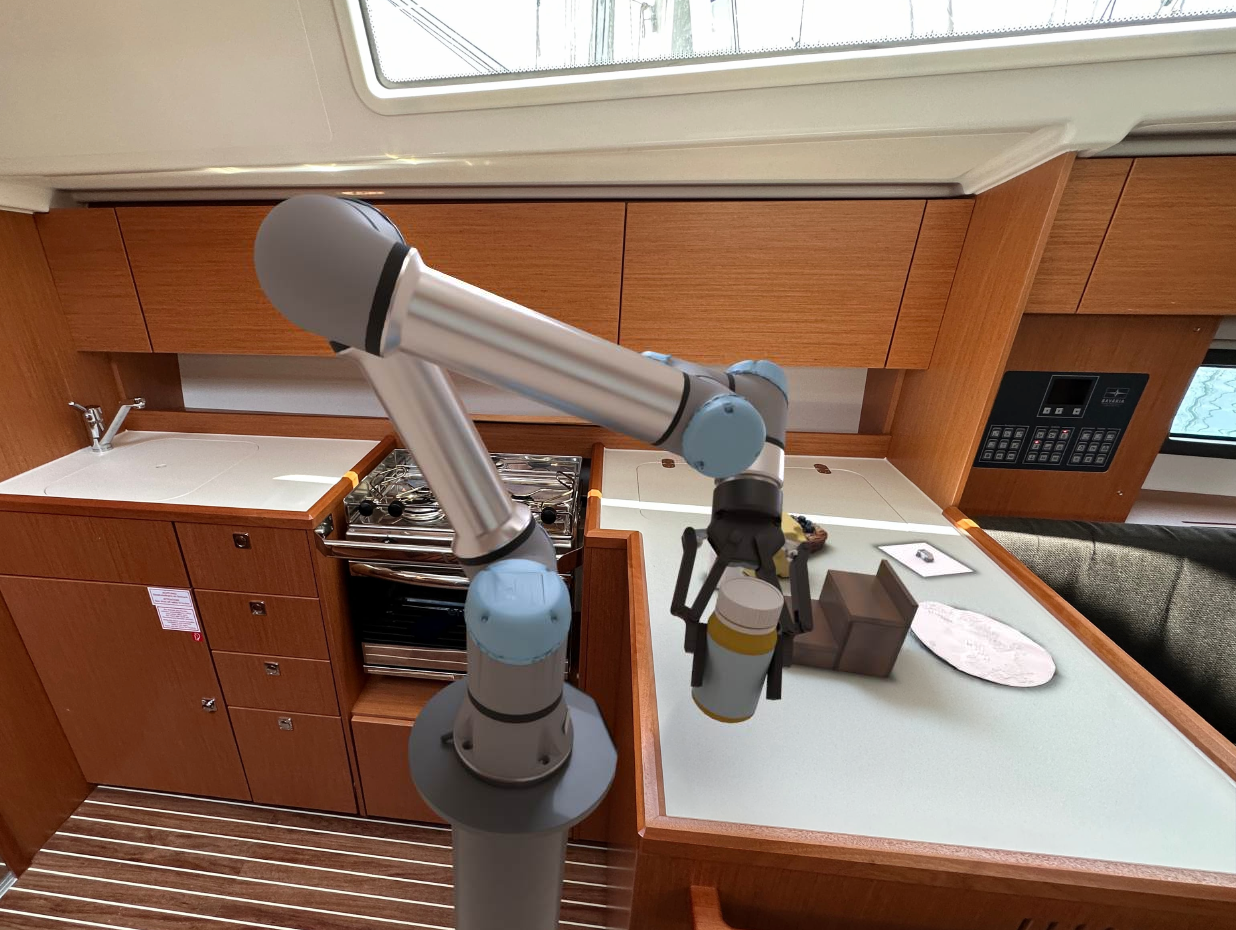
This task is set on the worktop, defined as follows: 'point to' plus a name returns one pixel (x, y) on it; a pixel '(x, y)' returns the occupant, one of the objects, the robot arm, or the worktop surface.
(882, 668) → the step rack
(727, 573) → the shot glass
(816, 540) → the pastry
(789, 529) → the cheese
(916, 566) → the white paper sheet
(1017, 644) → the plaque
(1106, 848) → the worktop surface
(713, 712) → the bottle
